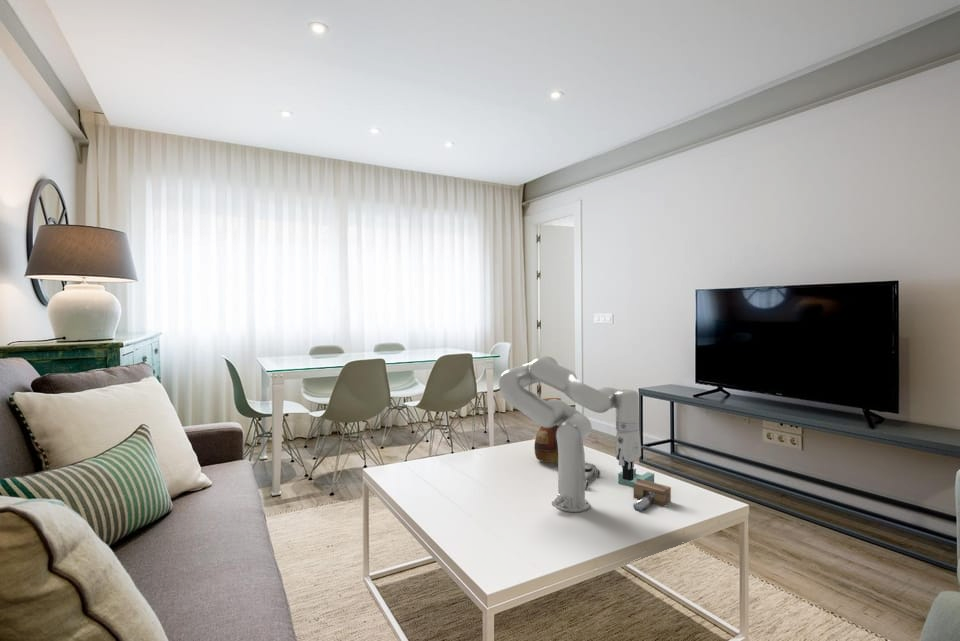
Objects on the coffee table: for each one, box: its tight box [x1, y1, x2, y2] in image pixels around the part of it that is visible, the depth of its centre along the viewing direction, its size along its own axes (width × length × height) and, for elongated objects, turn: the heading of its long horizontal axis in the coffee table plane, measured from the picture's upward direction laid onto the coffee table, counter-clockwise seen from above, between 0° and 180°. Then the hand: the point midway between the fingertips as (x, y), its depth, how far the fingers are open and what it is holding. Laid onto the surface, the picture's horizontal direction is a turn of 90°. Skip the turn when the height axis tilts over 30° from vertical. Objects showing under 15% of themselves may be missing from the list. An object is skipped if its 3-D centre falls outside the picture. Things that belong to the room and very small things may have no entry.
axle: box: [632, 492, 654, 513], centre depth 172 cm, size 14×3×3 cm, turn 136°
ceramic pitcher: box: [534, 397, 562, 464], centre depth 221 cm, size 20×20×30 cm
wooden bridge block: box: [633, 480, 672, 507], centre depth 177 cm, size 6×12×6 cm, turn 46°
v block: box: [617, 467, 655, 488], centre depth 194 cm, size 10×11×4 cm
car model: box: [585, 462, 601, 490], centre depth 199 cm, size 11×24×5 cm, turn 151°
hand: (628, 479), depth 162 cm, fingers closed
